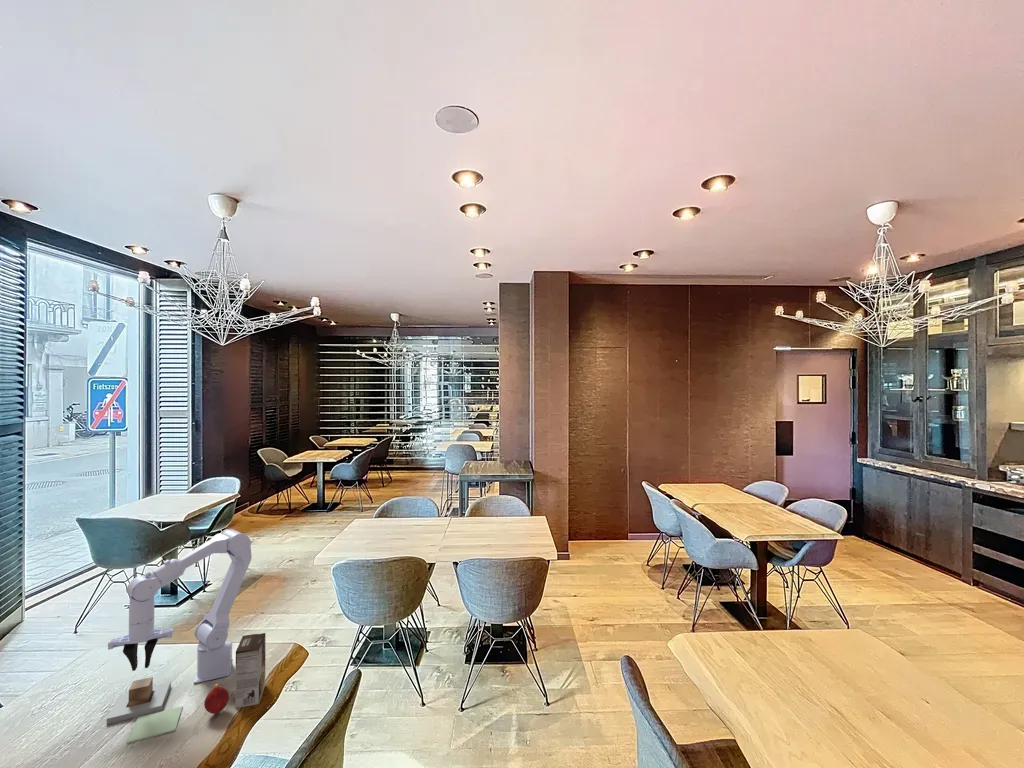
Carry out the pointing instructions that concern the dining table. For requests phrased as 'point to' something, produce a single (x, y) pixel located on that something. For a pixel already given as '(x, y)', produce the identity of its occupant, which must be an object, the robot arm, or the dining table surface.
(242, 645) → the coffee box
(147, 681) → the walnut block
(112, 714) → the pocket board
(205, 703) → the onion
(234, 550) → the robot arm
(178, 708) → the felt mat
